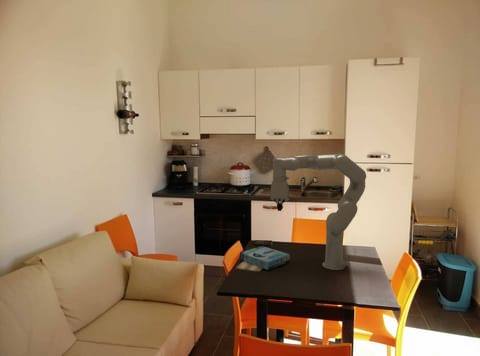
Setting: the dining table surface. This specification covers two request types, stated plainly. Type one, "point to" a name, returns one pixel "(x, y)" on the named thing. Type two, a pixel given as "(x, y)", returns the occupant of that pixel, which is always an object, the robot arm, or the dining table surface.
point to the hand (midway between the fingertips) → (279, 210)
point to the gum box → (264, 257)
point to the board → (248, 267)
